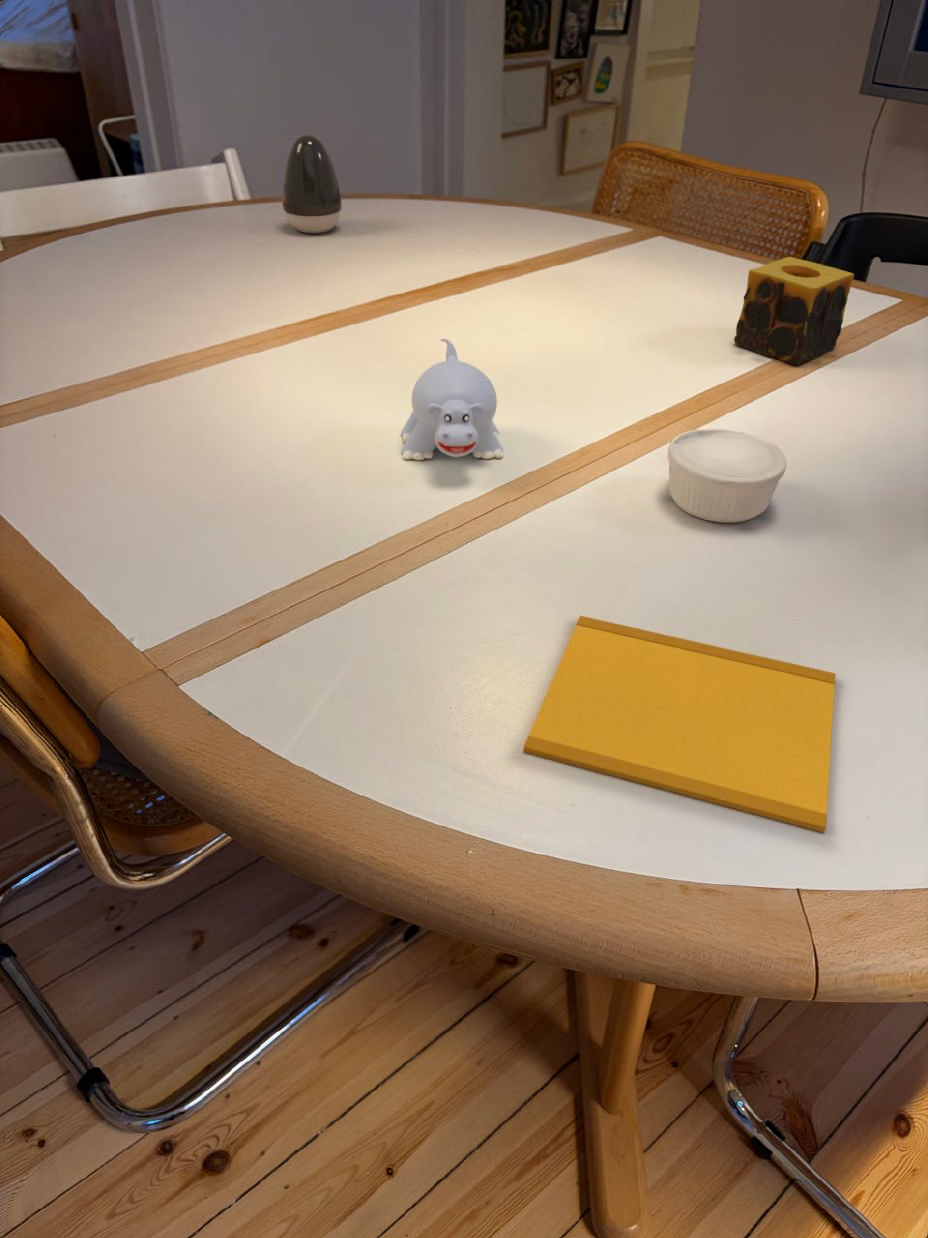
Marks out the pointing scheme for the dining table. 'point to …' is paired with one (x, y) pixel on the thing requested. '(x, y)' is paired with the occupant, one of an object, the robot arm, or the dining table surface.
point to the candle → (793, 309)
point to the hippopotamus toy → (452, 412)
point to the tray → (692, 720)
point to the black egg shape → (310, 187)
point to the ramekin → (723, 474)
